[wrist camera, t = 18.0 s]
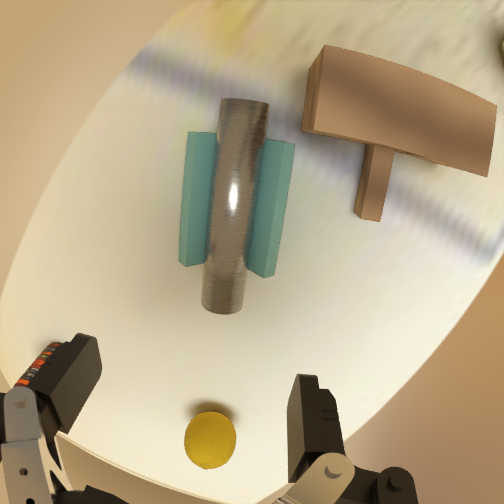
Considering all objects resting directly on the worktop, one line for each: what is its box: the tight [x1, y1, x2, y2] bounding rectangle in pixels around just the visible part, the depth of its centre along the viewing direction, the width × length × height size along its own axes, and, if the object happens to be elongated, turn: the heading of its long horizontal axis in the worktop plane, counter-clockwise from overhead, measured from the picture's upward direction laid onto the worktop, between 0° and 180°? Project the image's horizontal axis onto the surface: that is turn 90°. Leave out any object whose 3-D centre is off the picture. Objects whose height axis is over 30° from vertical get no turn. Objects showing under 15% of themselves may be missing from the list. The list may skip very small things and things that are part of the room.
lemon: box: [184, 412, 236, 469], centre depth 30 cm, size 6×6×8 cm
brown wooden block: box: [301, 45, 497, 222], centre depth 19 cm, size 10×12×7 cm
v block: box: [178, 132, 295, 278], centre depth 22 cm, size 9×7×5 cm
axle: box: [201, 98, 270, 314], centre depth 21 cm, size 14×3×3 cm, turn 173°
